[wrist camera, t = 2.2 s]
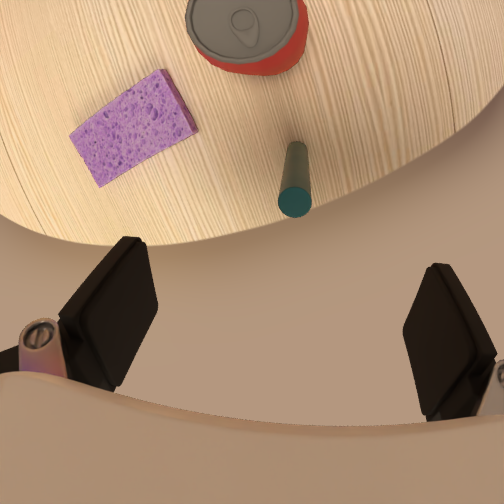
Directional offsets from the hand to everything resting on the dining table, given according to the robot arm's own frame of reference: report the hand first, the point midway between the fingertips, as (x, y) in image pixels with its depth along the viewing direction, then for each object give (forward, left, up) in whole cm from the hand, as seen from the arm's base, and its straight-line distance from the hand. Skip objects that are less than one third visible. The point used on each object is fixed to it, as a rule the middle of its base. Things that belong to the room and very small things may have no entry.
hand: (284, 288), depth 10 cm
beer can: (+3, -10, -20) cm, 22 cm away
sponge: (+16, -2, -20) cm, 25 cm away
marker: (0, 0, -20) cm, 20 cm away
